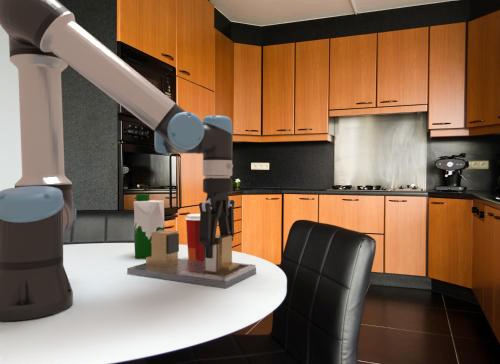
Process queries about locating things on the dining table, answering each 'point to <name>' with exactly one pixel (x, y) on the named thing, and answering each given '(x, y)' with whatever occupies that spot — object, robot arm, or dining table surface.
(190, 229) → the paper cup
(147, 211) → the milk carton
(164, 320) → the dining table surface
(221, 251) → the upright wooden block
